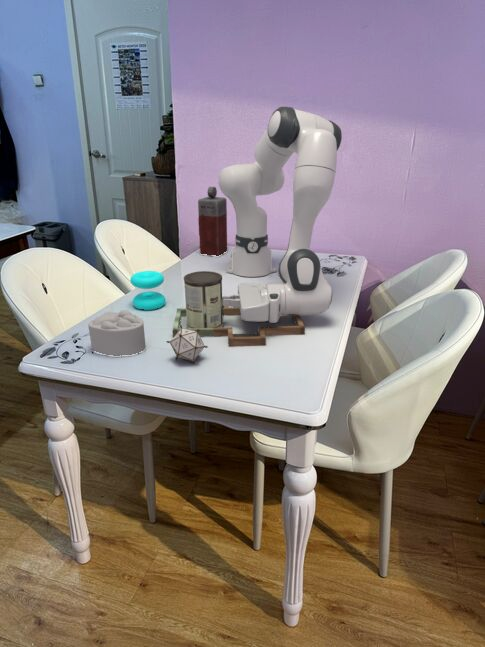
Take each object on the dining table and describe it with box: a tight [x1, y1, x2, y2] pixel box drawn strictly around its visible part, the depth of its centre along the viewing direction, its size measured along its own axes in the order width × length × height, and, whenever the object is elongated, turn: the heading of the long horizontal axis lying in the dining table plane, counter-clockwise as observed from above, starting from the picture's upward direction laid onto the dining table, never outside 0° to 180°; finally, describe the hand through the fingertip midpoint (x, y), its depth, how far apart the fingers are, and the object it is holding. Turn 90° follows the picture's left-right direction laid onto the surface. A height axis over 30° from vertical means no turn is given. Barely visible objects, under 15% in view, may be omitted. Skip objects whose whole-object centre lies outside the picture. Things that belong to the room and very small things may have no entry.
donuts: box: [129, 270, 167, 311], centre depth 138 cm, size 10×10×10 cm
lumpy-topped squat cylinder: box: [88, 309, 147, 356], centre depth 112 cm, size 10×13×9 cm
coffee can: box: [183, 270, 224, 328], centre depth 124 cm, size 10×10×14 cm
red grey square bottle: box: [197, 186, 228, 256], centre depth 191 cm, size 9×11×28 cm
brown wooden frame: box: [172, 304, 306, 347], centre depth 126 cm, size 27×35×2 cm
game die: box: [165, 324, 209, 365], centre depth 106 cm, size 9×8×10 cm
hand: (222, 301), depth 124 cm, fingers closed, pressing on coffee can
